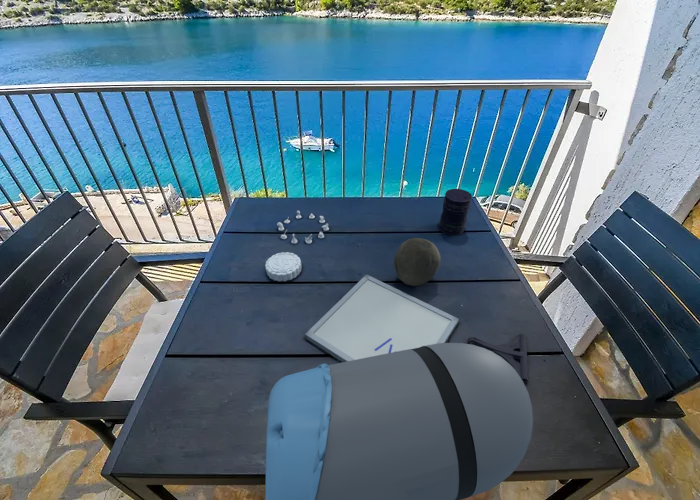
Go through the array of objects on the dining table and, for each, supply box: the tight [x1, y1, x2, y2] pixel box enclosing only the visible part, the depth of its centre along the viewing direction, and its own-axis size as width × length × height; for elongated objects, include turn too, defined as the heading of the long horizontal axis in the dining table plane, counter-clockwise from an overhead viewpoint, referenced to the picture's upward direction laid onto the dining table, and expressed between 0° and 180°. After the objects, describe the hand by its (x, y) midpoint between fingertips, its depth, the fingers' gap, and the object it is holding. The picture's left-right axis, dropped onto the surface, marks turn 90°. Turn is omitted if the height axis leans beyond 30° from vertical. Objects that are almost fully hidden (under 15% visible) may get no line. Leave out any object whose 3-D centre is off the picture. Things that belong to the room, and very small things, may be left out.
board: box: [304, 274, 460, 363], centre depth 98 cm, size 30×32×2 cm
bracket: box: [467, 333, 529, 384], centre depth 92 cm, size 14×15×3 cm
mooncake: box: [264, 251, 302, 282], centre depth 118 cm, size 12×12×4 cm
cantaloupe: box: [393, 237, 442, 287], centre depth 110 cm, size 14×14×15 cm
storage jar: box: [438, 188, 473, 236], centre depth 133 cm, size 10×10×15 cm
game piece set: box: [276, 210, 330, 245], centre depth 136 cm, size 19×20×4 cm
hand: (479, 418), depth 72 cm, fingers open, 12 cm apart
